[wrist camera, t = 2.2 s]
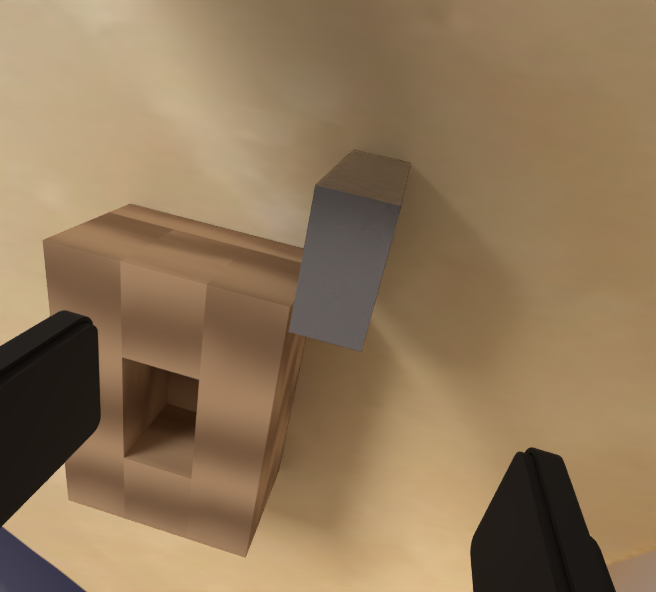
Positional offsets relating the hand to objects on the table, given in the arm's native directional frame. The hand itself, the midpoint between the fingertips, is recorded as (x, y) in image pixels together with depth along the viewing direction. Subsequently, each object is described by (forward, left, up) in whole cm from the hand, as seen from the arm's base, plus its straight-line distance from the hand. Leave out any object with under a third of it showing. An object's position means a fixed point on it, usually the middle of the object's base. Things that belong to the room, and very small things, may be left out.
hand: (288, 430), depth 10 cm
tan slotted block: (+12, -8, -17) cm, 22 cm away
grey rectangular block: (0, 0, -17) cm, 17 cm away
